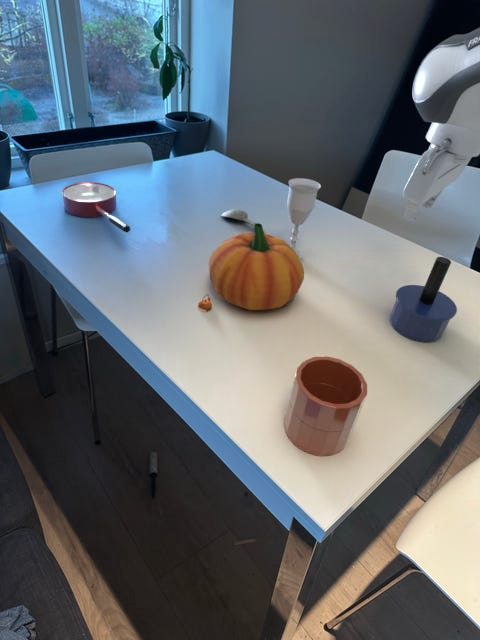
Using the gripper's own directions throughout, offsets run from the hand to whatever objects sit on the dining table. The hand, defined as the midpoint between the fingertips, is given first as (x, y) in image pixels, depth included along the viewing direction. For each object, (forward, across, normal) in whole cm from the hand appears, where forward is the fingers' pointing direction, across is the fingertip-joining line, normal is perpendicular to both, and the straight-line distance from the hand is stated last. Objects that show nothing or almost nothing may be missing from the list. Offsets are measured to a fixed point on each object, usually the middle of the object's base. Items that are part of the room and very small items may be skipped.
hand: (417, 212), depth 80 cm
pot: (+21, -37, -8) cm, 43 cm away
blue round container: (+20, 0, -10) cm, 23 cm away
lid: (+15, 0, -9) cm, 18 cm away
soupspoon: (+26, +8, +38) cm, 47 cm away
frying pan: (+30, -16, +65) cm, 73 cm away
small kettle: (+25, -26, +24) cm, 43 cm away
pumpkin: (+24, -14, +20) cm, 35 cm away
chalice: (+24, +4, +23) cm, 34 cm away
